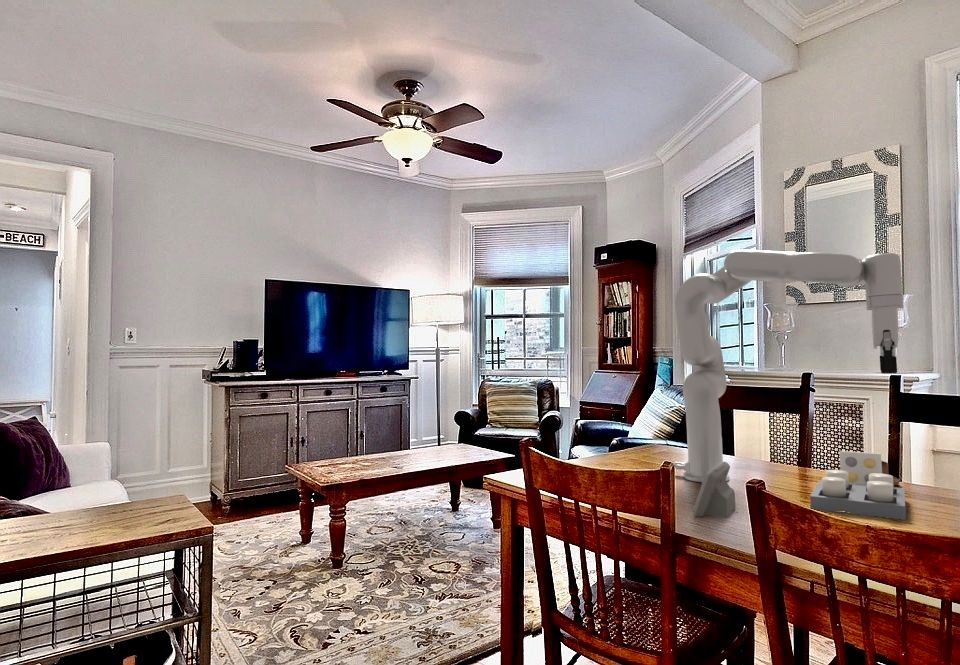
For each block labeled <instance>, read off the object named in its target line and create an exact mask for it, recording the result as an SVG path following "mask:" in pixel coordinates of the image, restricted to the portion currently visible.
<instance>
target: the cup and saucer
mask: <svg viewBox="0 0 960 665" xmlns="http://www.w3.org/2000/svg"><path fill="white" fill-rule="evenodd" d="M881 462H882V474H888V475H890V474H889V462H887V461H883V460H881ZM900 481H901V480H900V479H899V478H897V477H895V476H893V487H896V486H897V485H898V484H899V483H900Z"/></svg>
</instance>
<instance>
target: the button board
mask: <svg viewBox="0 0 960 665" xmlns="http://www.w3.org/2000/svg"><path fill="white" fill-rule="evenodd" d="M893 487H894V492H893V501H891V502H881V501H874V500H870V499H868V494H867V485H864V484H854V483H849V487H848V488H846V496H843V497H834V496H828V495H824V494H823V493H822V479H821V480H818V481H817V483H816V484H815V486H814V489H813V490H812V492H811V494H810V495H809V500H810V503H809V504H810V509H811V508H812V509H811V510H818V511H825V512H832V513H833V512H834V513H836V512H835V511H845V512H850V513H855V514H854V515H857V514H859V515H858V516H867V517H874V516H877V517H876V518H882V517H888V518H887V519H891V518H894V519H893V520H899V519H901V520H900V521H907V516H906V512H907V511H906V490H905V487H897V486H893Z"/></svg>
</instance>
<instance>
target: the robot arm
mask: <svg viewBox="0 0 960 665" xmlns="http://www.w3.org/2000/svg"><path fill="white" fill-rule="evenodd" d="M901 262H902V261H901V257H900V255H899V254H897V253H893V252H884V253H876V254H875V253H874V254H872V255H868V256H866V257H865V258H864V257H863V258H858V257H856V256H854V255H850V254H845V253H830V252H829V253H827V252H825V253H824V252H802V251H801V252H798V251H783V250H782V251H779V250H761V249H745V248H744V249H743V248H742V249H741V248H740V249H734V250H732V251H730V252H729V253H728V254H727V255H726V256H725V258H724V261H723V266H722V267H721V268H719V269H718V270H717V271H715V272H714V273H712V274H711V273H710V274H709V273H698V274H695V275H694V274H693V275H692V276H690V277H689V278H688V279H686V280H685V281H683V283H682V284H681V285H680V287H679V288H678V289H677V292H676V294H675V298H674V311H675V317H676V325H677V333H678V341H679V348H680V349H679V350H680V354H681V357H682V359H683V361H684V362H685V363H686V364H687V365H690V366H691V369H692V372H691V373H690V374H688V375H687V376H686V378H685V379H684V381H683V385H682V396H683V402H684V409H685V423H686V441H687V461H685V462H681V461H675V462H674V465H675V466H674V465H673V466H674V469H676V470H683V471H684V472H683V479H685V480H688V481H690V482H695V483H696V482H697V483H702V482H703V479H704V476H705V474H706V473H707V472H708V471H709V470H710V469H712V468H713V467H714V466H716V465H717V464H718V463H720V462H724V458H723V457H724V456H723V437H722V419H721V418H722V417H721V409H720V403H719V398H721V397H722V396H723V395H724V394H725V392H726V390H727V384H728V383H727V376H726V369H725V364H724V356H723V350H722V347H721V345H720V342H719V341H718V340H717V339H716V337H714V336H712V335H710V329H709V325H708V317H707V314H706V310H705V305H706V304H710V305H715V304H717V303H721V302H722V301H724V300H726V299H727V298H728V297H730V296H731V295H734V294H735V293H736V292H737V291H739V290H741V289H742V288H743V287H745V286H747V285H748V284H749V283H751V282H752V281H757V282H768V283H779V284H780V283H781V284H791V283H796V282H810V283H821V284H823V283H824V284H834V285H837V286H840V287H843V288H851V287H855V286H856V287H857V286H860V285H864V287H865V289H864V290H865V302H866V303H865V304H866V305H865V306H866V307H865V308H866V311H871V329H872V330H871V331H872V332H871V333H872V346H873V349H875V350H877V348H878V347H879V349H880V355H879V367H880V369H879V370H880V372H881V374H897V373H898V363H897V360H898V359H897V356H896V351H895V350H896V349H897V348H898V345H899V315H898V314H899V313H898V312H899V311H898V310H899V309H904V297H903V280H902V279H903V278H902V265H901ZM729 480H730V474H728V475H727V478H726V482H727V481H729Z"/></svg>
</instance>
